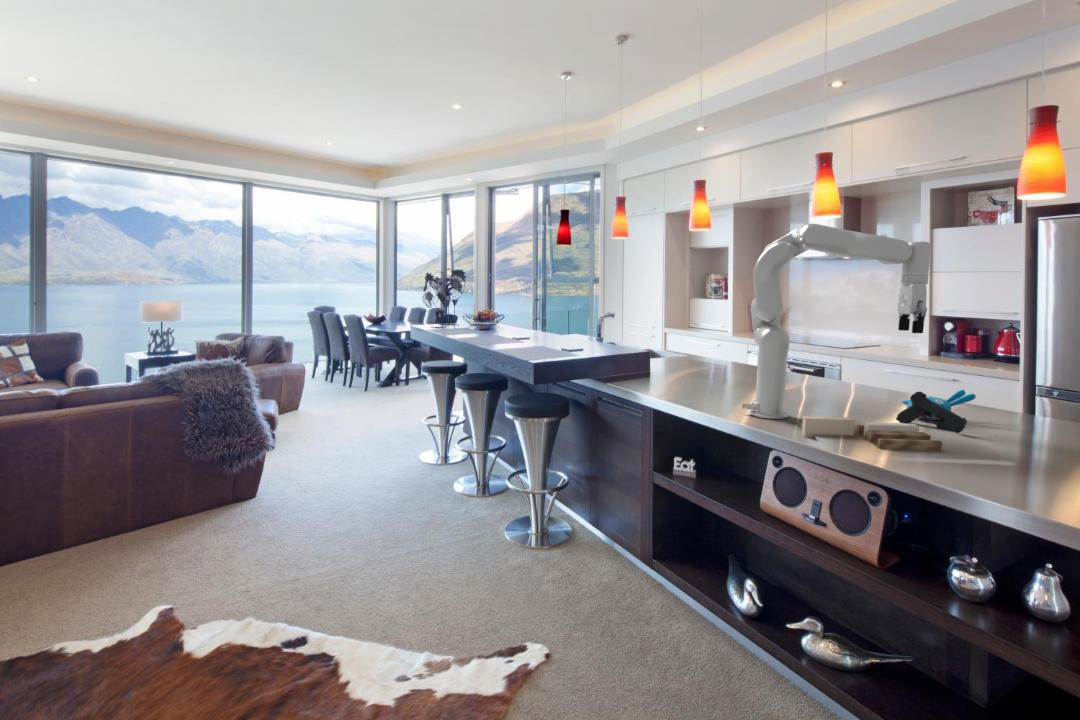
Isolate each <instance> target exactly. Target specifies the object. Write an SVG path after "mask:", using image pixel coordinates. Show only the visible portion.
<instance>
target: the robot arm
mask: <svg viewBox="0 0 1080 720" xmlns="http://www.w3.org/2000/svg"><path fill="white" fill-rule="evenodd" d="M808 250H811V251H815V252H820V253H826V254H830V255H835V256H840V257H845V258H865V259H871V260H877V262H879V263H881V264H883V265H901V264H902V267H901V268H902V269H901V270H902V271H901V280H900V281H901V285H900V290H899V294H898V303H897V313H898V327H897V329H898V331H909V330H910V325H911V323H910V322H911V318H910V316H911V314H912V317H913V320H912V325H911V326H912V327H911V333H912V334H923V333H924V324H925V320H926V316H927V312H928V311H927V310H928V307H927V285H928V284H929V276H930V275H929V273H930V272H929V271H930V263H931V262H930V261H931V253H932V251H931V250H932V245H931V243H930V242H929V241H905V240H902V239H898V238H893V237H888V236H883V235H878V234H871V233H865V232H860V231H854V230H848V229H845V228H844V229H843V228H838V227H833V226H828V225H823V224H818V223H807V224H804V225H801V226H799V227H797V228H795V229H794V230H792V231H790V232H788V233H787V234H785V235H784V236H782V237H779V238H778V239H776V240H774V241H773V242H770V243H769V244H767V245H766V246H765V247H764V249H763V250H762V253H761V255H760V256H759V257H758V259H757V261H756V263H755V265H754V268H753V274H752V275H753V276H752V278H753V279H752V281H753V293H754V298H753V300H752V301H751V304H750V317H751V324H752V331H753V338H754V342H755V343H756V344H757V346H758V354H757V355H758V356H757V365H756V366H757V367H756V368H757V369H756V384H755V385H756V387H755V389H756V390H755V400H753V401H752V402H750V403H747V402H741V405H740V407H741V409H742V410H743V409H746V410H750V415H751V416H754V417H756V418H760V419H768V420H770V419H771V420H783V419H787V418H789V415H790V414H789V412H788V411H786V410H785V406H786V405H785V403H786V384H787V366H788V365H787V364H788V355H789V350H790V337H789V334H788V332H787V331H786V329H785V328H783V327H781V317H782V315H783V313H784V303H783V298H782V292H781V291H782V290H781V281H780V280H781V272H782V271H783V268H784V267H785V266H786V265H788V264H789V263H790V262H791V261H792V260H793V259H795V258H796V257H797V256H800V255H802V254H803V253H805V252H806V251H808Z"/></svg>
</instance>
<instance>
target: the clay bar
mask: <svg viewBox="0 0 1080 720" xmlns="http://www.w3.org/2000/svg"><path fill="white" fill-rule="evenodd" d="M801 426H802V427H801V436H803V438H815V435H823V436H824V435H827V436H829V435H831V436H854V432H855V431H854V430H855V419H854V418H852V417H846V416H845V417H843V416H811V415H810V416H807V415H806V416H804V415H802V425H801Z"/></svg>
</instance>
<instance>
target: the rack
mask: <svg viewBox="0 0 1080 720" xmlns="http://www.w3.org/2000/svg"><path fill="white" fill-rule="evenodd" d="M856 434H857V435H858V436H860V437H862V438H863V439H865V440H866V441H867V442H869V443H870V444H871V445H873V446H875V447H876V448H877V449H880V450H904V451H928V452H929V451H933V452H935V451H938V452H942V447H943V441H942V440H936V439H935V440H933V439H931V435H930V434H929V433H927V432H923V431H919V432H901V431H869V430H866V431H865V436H864V435H863V434H864V424H857V427H856Z"/></svg>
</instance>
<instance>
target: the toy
mask: <svg viewBox="0 0 1080 720" xmlns="http://www.w3.org/2000/svg"><path fill="white" fill-rule="evenodd" d="M976 395H977V394H974V393H969V394H966V391H965V390H964V389H960V390H958V391H956V392H955V393H953V394H952V395H951V396H949V398H947V399H946V400H944V399H943V398H938V397H934V396H926V398H928V399H930V400H931V401H933V402H935V403H937V404H938V405H940V406H942V407H944V408H946V409H947V410H949V411H951V412H952V407H954V406H958V405H962V404H964V403H968V402H971V401H973V400H975V399H976ZM901 403H902V404H903V405H905V406H906V409H907V408H908V407H910V406H912V402H911V400H910V399H907V400H902V401H901ZM925 416H926V418H928V419H930V420H932V421H938V420H939V421H940V419H939V418H937V417H936V416H935V414H933V415H932V417H931V418H930V417H928V416H927V415H925ZM918 418H919V419H922V418H923V417H918ZM918 418H917V419H918ZM922 420H926V419H925V418H923V419H922Z"/></svg>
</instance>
